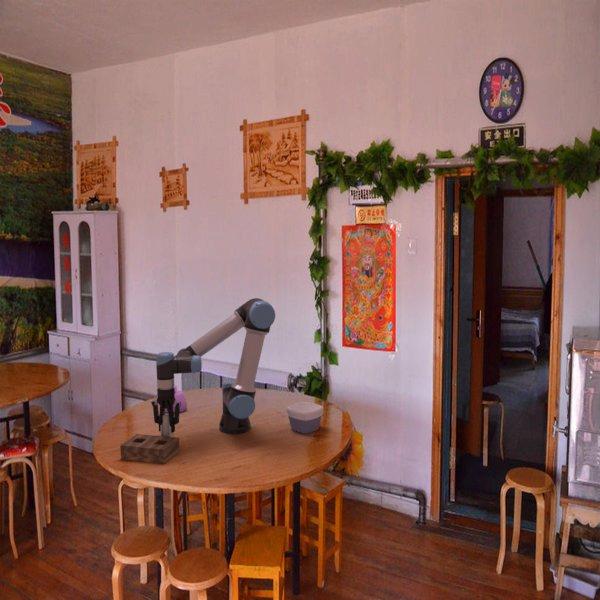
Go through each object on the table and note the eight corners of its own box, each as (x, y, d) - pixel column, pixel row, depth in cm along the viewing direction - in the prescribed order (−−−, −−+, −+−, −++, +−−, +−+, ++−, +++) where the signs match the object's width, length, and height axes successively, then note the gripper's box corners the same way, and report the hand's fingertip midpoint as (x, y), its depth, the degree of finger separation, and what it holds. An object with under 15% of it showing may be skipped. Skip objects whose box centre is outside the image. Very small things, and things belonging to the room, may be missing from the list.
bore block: (179, 451, 258) (178, 437, 257) (164, 463, 245) (164, 449, 244) (137, 447, 263) (136, 433, 262) (120, 459, 249) (120, 445, 248)
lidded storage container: (327, 429, 287) (327, 406, 285) (305, 437, 275) (305, 414, 274) (303, 421, 297) (304, 400, 296) (282, 429, 286) (282, 407, 284)
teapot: (188, 403, 326) (187, 384, 325) (186, 415, 306) (185, 394, 305) (163, 404, 324) (162, 384, 323) (159, 416, 305) (159, 395, 303)
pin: (172, 444, 266) (171, 413, 264) (169, 446, 263) (168, 416, 261) (165, 443, 267) (164, 413, 265) (162, 446, 264) (161, 415, 262)
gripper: (186, 386, 263) (187, 437, 266) (152, 384, 267) (154, 434, 270) (179, 391, 256) (180, 443, 259) (144, 388, 260) (146, 440, 263)
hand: (167, 438), depth 264 cm, fingers closed on pin, 3 cm apart
